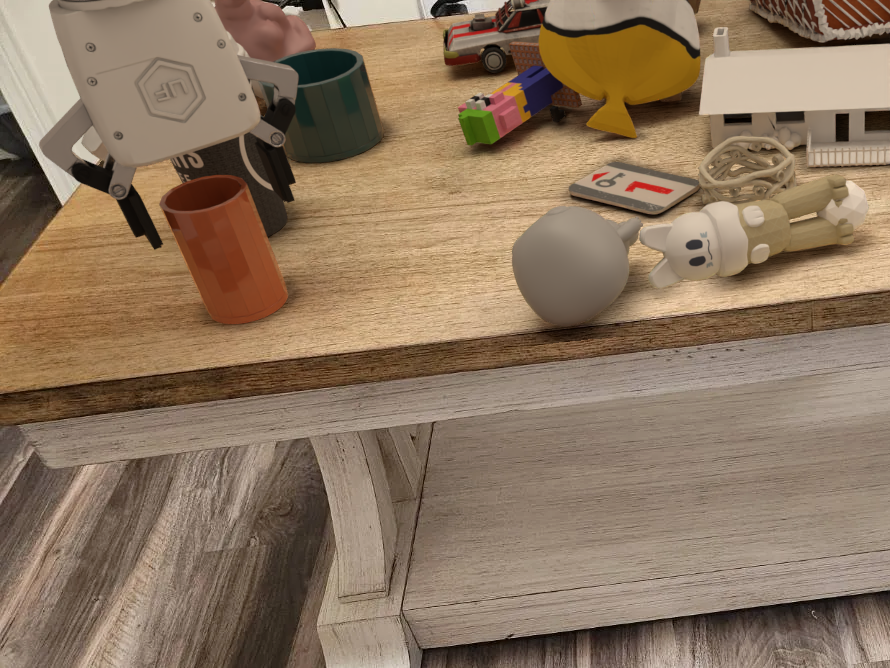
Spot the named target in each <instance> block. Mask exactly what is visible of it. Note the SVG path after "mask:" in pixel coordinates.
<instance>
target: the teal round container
mask: <svg viewBox="0 0 890 668" xmlns="http://www.w3.org/2000/svg"><path fill="white" fill-rule="evenodd" d="M273 62H275V63H280V64H285V65H288V66H290V67H291V68H293V69H294V70H295V71H296V72H297V73H298V76H299V79H298V87H297V96H296V99H295V108H296V111H295V114H294V116H293V119H292V121H291V123H290V125H289V127H288V129H287V132H286V134H285V143H284V145H283V148H284V151H285V154H286V156H287V159H290V160H292V161H295V162H300V163H305V164H306V163H308V164H319V163H329V162H335V161H341V160H345V159H348V158H352V157H354V156H358V155H360V154H362V153H364V152H366V151H368V150H370V149H372V148H374V147H375V146H377V145H378V143H380V142H381V141H382V140H383V138H384V136H385V135H384V134H385V131H384V127H383V123H382V119H381V116H380V112H379V109H378V105H377V102H376V98H375V94H374V91H373V87H372V84H371V81H370V78H369V73H368V69H367V66H366V63H365V59H364V56H363V55H362V54H361V53H359V52H358V51H356V50H351V49H348V48H340V47H339V48H338V47H337V48H336V47H330V48H327V47H326V48H317V49H316V48H315V50H310V51H304V52H299V53H296V54H292V55H288V56H285V57H283V58H280V59H278V60H276V61H273ZM258 83H259V86H260V89H261V91H262V94H263V97H264V100H263V101H264V102H265V105H266V106H265V107H266V108H267V109H268V107H269V105H270V102H271V100H272V98H273V97H274V84H272V83H267V82H261V81H258Z"/></svg>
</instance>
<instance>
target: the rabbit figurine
mask: <svg viewBox="0 0 890 668" xmlns="http://www.w3.org/2000/svg"><path fill="white" fill-rule="evenodd" d="M771 197H772V198H771V199H770V200H756V201H753V202H748V203H742V204H737V205H734V204H731V203H729V202H725V201H720V202H715V203H711V204H708V205H704V206H703V207H702V208H701V209H700V210H699V211H691V212H686V213H683V214H680V215H679V216H677V217H676V218H674V219H673V220H672V221H671V222H667V223H666V222H665V223H656V224H652V225H647V226H643V227H641V229H640V230H639V236H638V241H639V242H640V243H641V245H643V246H645V247H647V248H649V249H651V250H654V251H658V252H661V253H662V256H663V257H662V258H661V259H660V260H659V261H658V262H657V264H655V265H654V267H653V268H652V269H651V270H650V272H649V273H648V276H647V280H648V283H649V284H650V286H651V287H652V288H654V289H656V290H661V289H666V288H668V287H672V286H674V285H676V284H678V283H680V282H682V281H684V280H687V281H691V282H701V281H705V280H707V279H710V278H712V277H714V276H715V275H716V276H718V277H721V278H727V277H731V276H735V275H738V274H740V273H741V272H742V271H743V270H745V268H746V267H747V266H748V265H750V264H755V265H757V264H761V263H764V262H765V261H767V260H768V259H769V258H770V257H772V256H775V255H778V254H780V253H782V252H783V251H784V252H790V253H791V252H797V251H798V252H799V251H804V250H805V251H806V250H810V249H815V248H816V249H817V248H821V247H824V246H825V247H826V246H831V245H842V246H847V245H851V244H852V243H853V242H855V237H854V231H855V230H857V229H858V228H860V227H861V226H863V225H864V223H865V220H866V217H867V214H868V212H869V209H870V207H869V203H868V199H867V195H866V191H865V190H864V189H863V188H861V187H860V186H859V185H858V184H856V182H854V181H853V180H847V178H846V176H843V175H841V174H830V175H826V176H823V177H821V178H817V179H814V180H811V181H808V182H805V183H803V184H799V185H796V187H794V188H791V189H788V190H785V191H783V192H781V193H779V194H777V193H775V194H774V196H773V195H772V196H771ZM814 213H816V216H814V217H809V218H804V219H800V220H796V221H793V222H790V220H794V219H797V218H801V217H804V216H808V215H811V214H814Z"/></svg>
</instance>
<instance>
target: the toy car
mask: <svg viewBox="0 0 890 668" xmlns="http://www.w3.org/2000/svg"><path fill="white" fill-rule="evenodd" d="M549 2H550V0H508V1H504V2H503V5H502V6H501V7H498V8H497V9H498V10H497V11H496V12H495V14H494V15H491V16H485V13H476V14H475V13H474V17H473V18H472V19H469V20H464V21H458V22H452V24H450V26H449V28H444V29H443V30H442V38H443V42H442V44H443V45H442V46H443V47H442V48H443V49H442V50H443V53H442V55H443V60H444V61H443V62H444V64H445V65H446V66H448V67H456V66H464V65H470V64H477V63H479V62H481V64H482V66H483V68H484V70H486V71H488V72H489V73H492V74H499V73H500V72H503V70H505V68H506V66H507V56H509V55H512V53H511V50H510V47H509V44H510V43H511V42H527V43H539V34H540V28H541V25H542V21H543V18H544V15H545V12H546V10H547V7H548V4H549ZM482 50H483V51H482ZM481 51H482V52H481Z"/></svg>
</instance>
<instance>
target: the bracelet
mask: <svg viewBox="0 0 890 668" xmlns="http://www.w3.org/2000/svg"><path fill="white" fill-rule="evenodd" d="M733 143H752V144H751V147H752V149H753V150H752V151H754V152H759V151H761V149H763V147H762V146H763V143H766V144H770V145H772V146H774V147H775V148H774V149H776V150H778V151H779V152H780V153H777V154H775V155H773V156H772V157H771V163H772V164H770V162H769V161H768V160H767V159H765V158H764V157H762V156H759V155H758V154H753V153H752V152H750V151H749V150H748V149H747V150H746V149H745V148H743V147H741V146H738V145H731V144H733ZM756 145H757V146H756ZM728 152H729V156H730V157H724V158H722V155H723V154H725V153H728ZM784 157H785V158H784ZM734 165H739V166H740V167H739V168H736V169H735V170H731V169H732V168H733V166H734ZM710 166H712V168H710ZM697 169H698V174H697V176H698V181H699V186H700V189H701V190H703V193H702V194H701V201H702V204H703V205H704V206H706V205H708V204H711V203H715V202H720V201H725V202H729V203H731V204H734V205H737V204H742V203H748V202H753V201H760V200H770V199H771V198H772V197H773V195H776V194H779V193H781V192H783V191H785V190H788V189H791V188H794V187H796V186H797V176H796V171H795V169H796V156H795V154H794V153H791V152H790V150H787V149H786V148H785V146H784V145H782V144H780V143H779V142H778V141H776V140H774V139H772V138H769V137H745V136H736V137H732V138H729V139H727V140H725V141H724V142H722V143H721V144H719V145H718V146H717V147H715V148H712V149H710V151H709V152H708V153H707V154H706V155H705V156H704V157H703V159H702V161H701V162H700V164H699V165H698V168H697ZM744 174H745V175H744ZM740 175H743V176H740ZM738 176H740V177H738ZM727 177H730V178H731V179H728V180H726V179H727ZM736 177H738V178H736ZM760 178H771V179H772V180H773V181H775V182H773V184H772V183H770V182H769V181H767V180H765V179H764V180H763V179H760ZM752 186H753V187H752ZM783 186H785V187H786V188H785V187H783ZM744 187H752V192H753V193H742V194H740V193H741V191H742V188H744ZM716 189H720V190H726V191H727V190H728V194H729V195H730V196H726V195H724V194H722V193H720V192H719V191H717V190H716ZM765 189H766V190H765Z"/></svg>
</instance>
